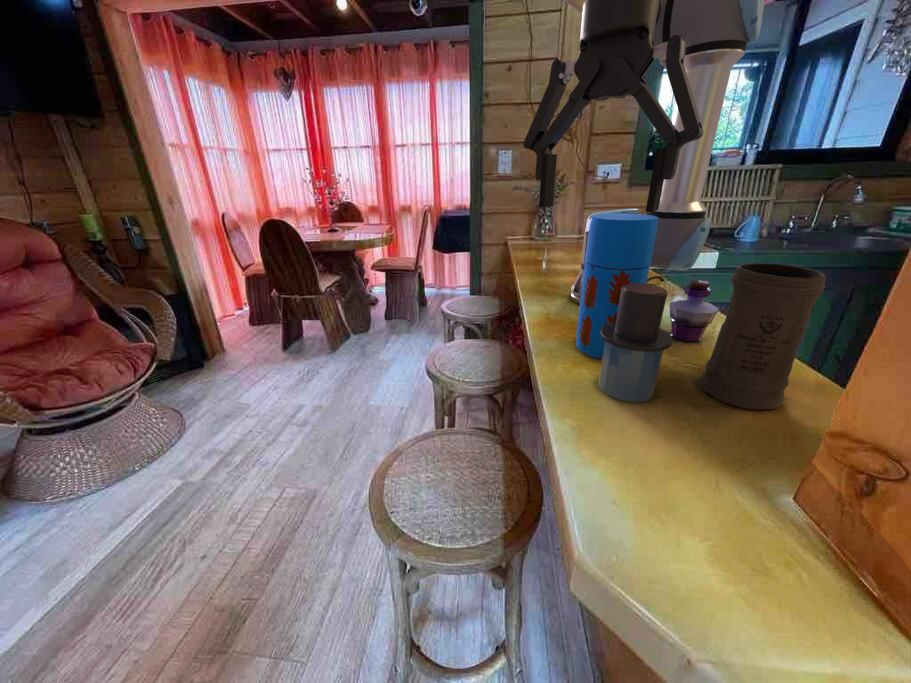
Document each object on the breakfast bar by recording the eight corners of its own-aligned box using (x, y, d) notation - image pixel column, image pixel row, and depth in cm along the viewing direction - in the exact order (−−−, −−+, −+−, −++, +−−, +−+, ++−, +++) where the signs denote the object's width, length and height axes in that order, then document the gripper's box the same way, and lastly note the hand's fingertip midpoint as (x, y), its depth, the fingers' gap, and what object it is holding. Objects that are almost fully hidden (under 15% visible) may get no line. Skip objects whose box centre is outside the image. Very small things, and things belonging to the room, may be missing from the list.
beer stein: (797, 419, 52) (851, 277, 45) (708, 405, 56) (746, 271, 49) (757, 374, 66) (794, 259, 59) (687, 365, 69) (715, 256, 62)
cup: (608, 370, 66) (616, 323, 62) (658, 385, 61) (670, 335, 58) (591, 390, 60) (598, 340, 57) (645, 408, 56) (657, 354, 52)
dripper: (610, 331, 64) (619, 275, 60) (675, 346, 59) (690, 285, 55) (588, 352, 57) (597, 290, 53) (660, 371, 52) (675, 303, 48)
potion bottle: (708, 333, 80) (724, 278, 75) (711, 349, 73) (728, 289, 68) (663, 326, 84) (675, 274, 79) (661, 341, 77) (674, 284, 72)
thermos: (638, 362, 69) (667, 220, 58) (577, 357, 71) (595, 220, 60) (626, 338, 78) (649, 213, 68) (573, 335, 81) (587, 213, 70)
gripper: (500, 15, 44) (496, 207, 52) (771, -69, 29) (702, 216, 38) (532, 30, 49) (523, 203, 58) (774, -34, 34) (713, 209, 43)
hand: (594, 208), depth 48 cm, fingers open, 13 cm apart
